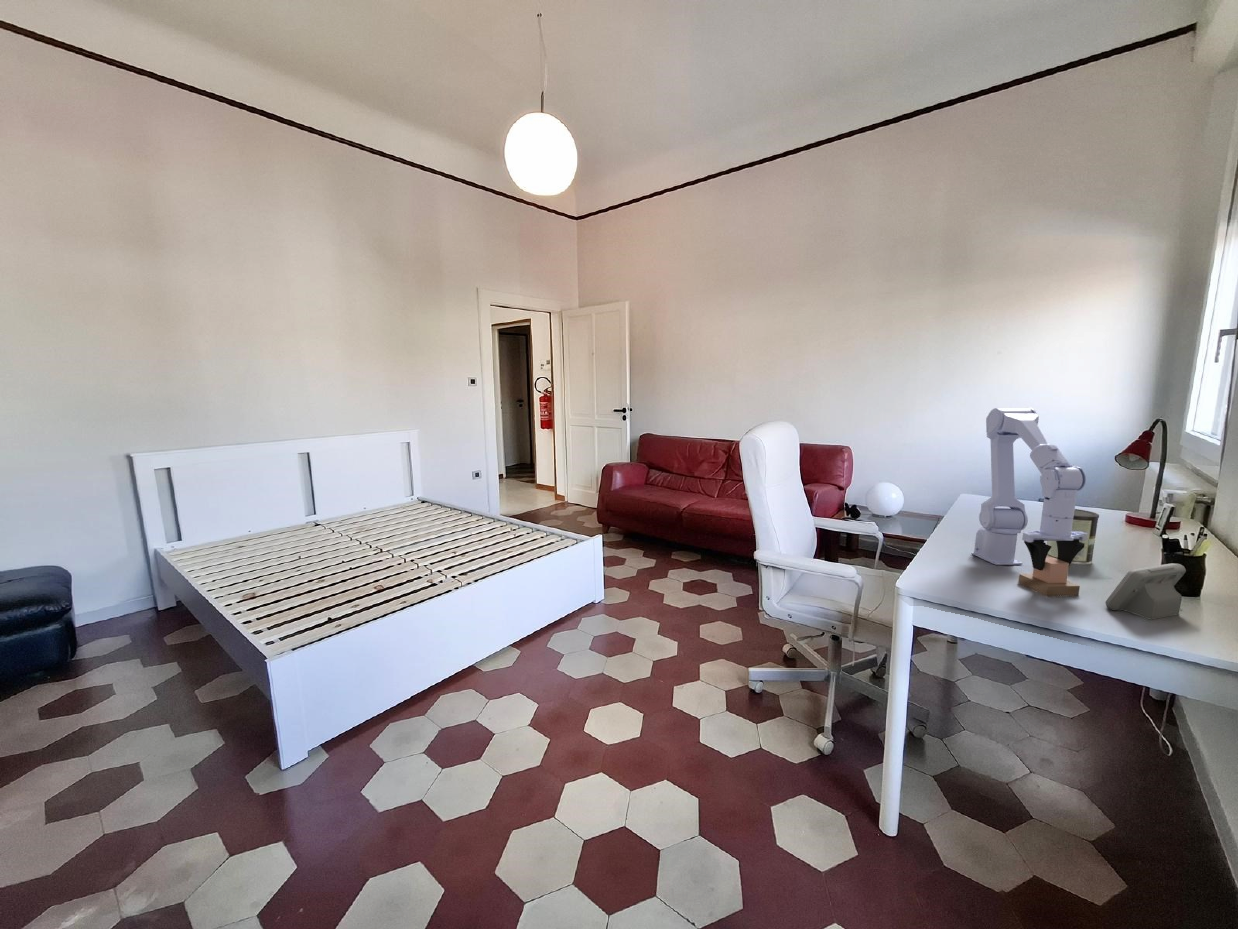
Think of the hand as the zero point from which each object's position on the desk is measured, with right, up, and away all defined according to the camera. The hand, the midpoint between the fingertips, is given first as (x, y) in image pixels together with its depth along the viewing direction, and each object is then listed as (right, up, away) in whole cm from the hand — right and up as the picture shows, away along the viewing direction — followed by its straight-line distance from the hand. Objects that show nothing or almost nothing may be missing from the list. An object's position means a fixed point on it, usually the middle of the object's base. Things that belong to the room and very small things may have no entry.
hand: (1050, 568), depth 120 cm
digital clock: (+12, -7, -10) cm, 17 cm away
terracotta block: (0, -3, +1) cm, 3 cm away
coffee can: (+24, -2, +21) cm, 33 cm away
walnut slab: (0, -6, +1) cm, 6 cm away
